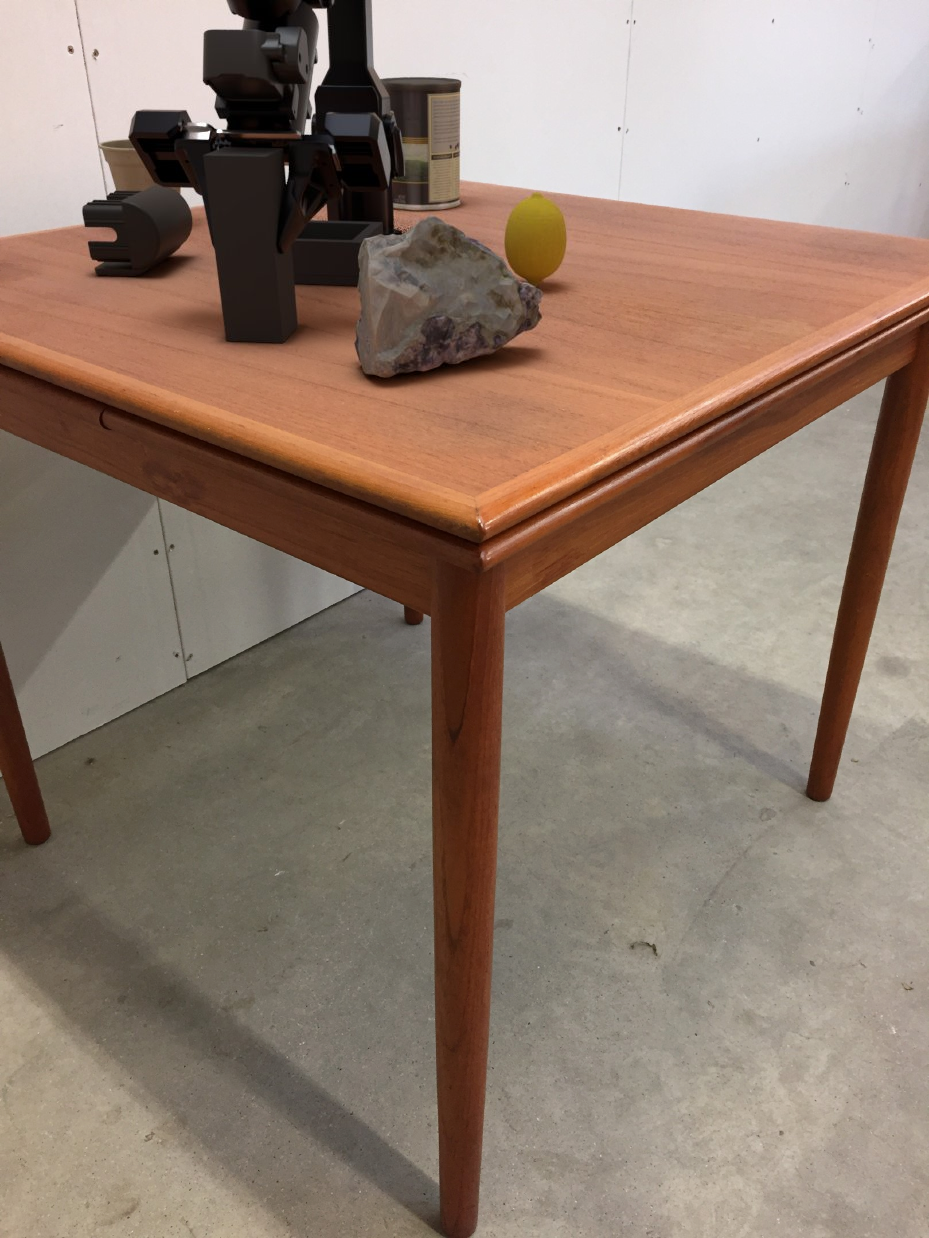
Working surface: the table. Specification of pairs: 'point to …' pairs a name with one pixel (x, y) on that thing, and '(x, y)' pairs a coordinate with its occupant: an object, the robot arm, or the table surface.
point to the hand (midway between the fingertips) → (247, 249)
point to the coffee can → (427, 141)
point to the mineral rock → (436, 300)
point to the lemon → (535, 238)
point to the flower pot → (127, 166)
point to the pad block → (251, 243)
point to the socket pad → (331, 251)
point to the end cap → (138, 229)
